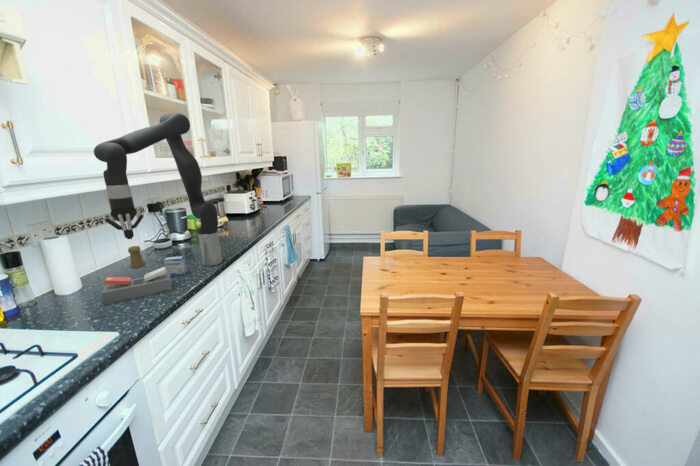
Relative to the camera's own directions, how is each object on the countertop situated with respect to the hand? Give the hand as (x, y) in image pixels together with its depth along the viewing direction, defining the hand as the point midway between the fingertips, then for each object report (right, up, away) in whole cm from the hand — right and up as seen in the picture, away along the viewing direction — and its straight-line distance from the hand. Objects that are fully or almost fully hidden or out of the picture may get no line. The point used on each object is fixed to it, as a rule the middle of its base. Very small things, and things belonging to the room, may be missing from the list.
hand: (129, 238), depth 119 cm
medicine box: (+4, -18, +25) cm, 31 cm away
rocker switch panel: (0, -23, +6) cm, 24 cm away
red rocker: (-6, -17, +1) cm, 18 cm away
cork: (-22, -16, +35) cm, 44 cm away
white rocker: (+5, -15, +8) cm, 18 cm away
